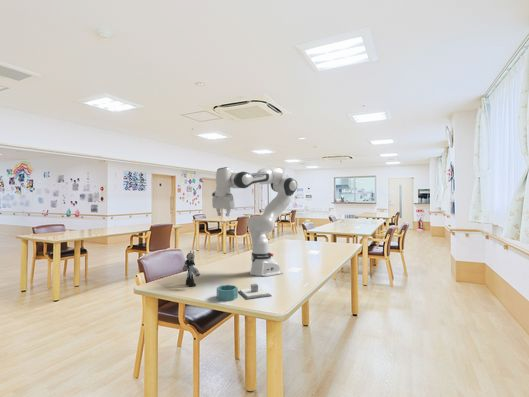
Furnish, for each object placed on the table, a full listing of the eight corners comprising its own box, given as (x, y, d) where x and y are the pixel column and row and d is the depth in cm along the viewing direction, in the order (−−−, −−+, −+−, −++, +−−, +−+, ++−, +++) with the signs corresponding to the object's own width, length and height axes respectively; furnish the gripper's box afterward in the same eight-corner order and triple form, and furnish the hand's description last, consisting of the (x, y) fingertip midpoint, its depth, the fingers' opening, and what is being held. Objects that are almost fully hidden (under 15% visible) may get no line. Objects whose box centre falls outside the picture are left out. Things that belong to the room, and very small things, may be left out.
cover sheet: (260, 288, 170) (260, 280, 170) (269, 295, 159) (269, 286, 159) (240, 291, 165) (240, 283, 165) (247, 298, 154) (247, 289, 154)
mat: (261, 288, 171) (261, 288, 171) (271, 296, 158) (271, 295, 158) (238, 291, 166) (238, 291, 166) (246, 299, 153) (246, 298, 153)
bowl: (233, 293, 163) (233, 284, 163) (239, 299, 154) (239, 289, 154) (215, 295, 159) (215, 286, 159) (219, 301, 150) (219, 291, 150)
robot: (180, 282, 185) (179, 249, 185) (187, 281, 188) (187, 248, 188) (194, 289, 170) (194, 254, 170) (202, 288, 173) (201, 253, 173)
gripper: (237, 193, 181) (237, 216, 181) (219, 193, 197) (219, 215, 197) (228, 193, 177) (228, 217, 177) (210, 193, 193) (210, 215, 193)
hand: (223, 216), depth 187 cm, fingers open, 8 cm apart
